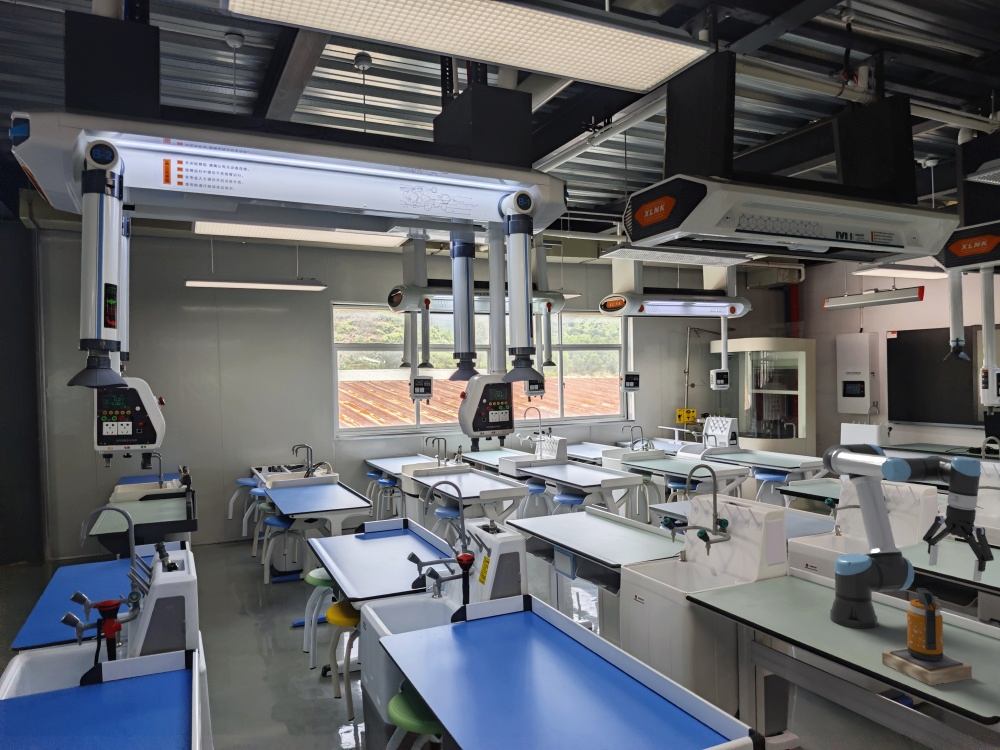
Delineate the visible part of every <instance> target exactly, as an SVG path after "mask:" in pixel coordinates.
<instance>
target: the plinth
mask: <svg viewBox="0 0 1000 750" xmlns="http://www.w3.org/2000/svg"><path fill="white" fill-rule="evenodd" d="M881 655H882V656H881V657H882V658H881V659H882V660H881V664H882V663H883V664H882V665H884V664H886V665H885V666H887V665H888V666H887V667H889V666H890V667H889V668H891V667H892V669H893V668H894V669H893V670H895V669H896V671H897V670H898V671H897V672H899V671H901V672H900V673H902V672H903V673H902V674H904V673H905V674H904V675H906V674H907V675H906V676H908V675H909V676H908V677H910V676H911V677H910V678H912V677H914V678H916V679H915V680H917V679H918V680H917V681H919V680H920V681H919V682H921V681H922V682H921V683H923V682H924V683H923V684H925V683H926V684H925V685H927V684H928V685H927V686H929V685H934V686H937V685H936V684H939V685H942V684H941V683H944V684H949V683H953V682H958V681H964V680H968V679H969V680H970V679H972V674H973V673H972V672H973V670H972V665H970V664H969V663H968V664H967V663H965V662H962V661H960V660H958V659H955V658H952V657H950V656H948V655H945V654H944V653H943V658H942V659H940V660H935V661H929V660H923V659H919V658H917V657H915V656H913V655H911V654H910V653H909V652H908V647H904V648H899V649H893V650H887V651H882V652H881ZM914 678H913V679H914Z"/></svg>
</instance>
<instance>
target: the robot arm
mask: <svg viewBox="0 0 1000 750" xmlns="http://www.w3.org/2000/svg"><path fill="white" fill-rule="evenodd" d="M822 463H823V466H824V467H825V469H826V470H827V471H828V472H830V473H831V474H834V475H838V476H848V478H849V482H850V483H852V484H854V486H855V490H856V494H857V498H858V499H857V500H858V504H859V508H860V509H859V510H860V512H861V517H862V521H863V526H864V530H865V536H866V540H867V546H868V550H867V551H866V553H865V554H864V553H845V554H841V555H839V556H837V557H836V559H835V562H834V584H835V586H834V587H835V588H834V589H835V591H834V593H835V594H834V596H835V597H834V600H833V603H832V606H831V609H830V611H829V614H830V615H829V616H830V617H829V619H830V620H831V621H833V623H836V624H838V625H841V626H843V627H844V626H845V627H848V628H849V627H850V628H853V629H873V628H877V627H878V623H879V622H878V621H879V620H878V616H877V614H876V611H875V608H874V605H873V601H872V600H873V599H872V596H873V595H872V593H876V592H899V591H905V590H907V589H909V588H910V587H911V586H912V584H913V582H914V579H915V571H914V567H913V564H912V562H910V560H909V559H908V558H907V557H904V556H903V552H902V550H900V549H899V548H897V546H896V542H895V538H894V536H893V530H892V527H891V521H890V517H889V513H888V509H887V505H886V500H885V496H884V492H883V488H882V483H881V481H882V480H883V479H886V480H887V481H888V482H892V483H893V482H894V483H903V482H937V481H938V482H942V483H945V484H948V494H947V495H948V496H947V505H946V511H945V517H946V518H945V517H944V516H943V515H939V516H938V515H936V516H935V517H934V521H933V523H932V524H931V526H930V527H929V529H928V530H927V531H926V533H925V534H924V536H923V537H922V541H924V542H926V543H927V544H928V545H927V546H928V548H927V554H928V555H929V560H928V566H937V562H938V554H939V547H940V546H939V545H938V543H939V542H941V541H942V540H943V539H944V538H946V537H947V536H948V535H950V534H951V536H957V537H958V538H963V540H965V542H966V543H968V545H969V547H970V549H971V551H972V552H973V554H974V555H975V556H976V558H977V559H975V560H974V567H973V575H972V576H973V577H972V581H973V582H981V581H982V574H983V572H985V571H986V564H987V562H992V561H994V560H995V558H994V555H993V552H992V549H991V547H990V544H989V541H988V539H987V537H986V528H985V527H982V526H981V527H978V526H975V525H974V524H975V521H976V513H977V510H976V508H977V506H978V505H977V503H978V494H979V488H980V480H981V479H980V478H981V474H982V473H981V471H982V470H981V468H982V467H981V465H982V464H981V461H980V460H979V459H977V458H973V457H969V456H959V455H956V456H953V457H952V458H951V459H948V458H945V457H942V456H938V455H931V454H928V455H925V456H923V457H907V458H906V457H895V456H887V455H886V453H885V451H884V450H883V449H882V448H881V447H879V446H878V445H876V444H868V443H859V444H857V443H853V444H852V443H851V444H835V445H832V446H830V447H828V448H827V449H826V450H825V451H824V453H823V455H822ZM943 524H945V528H944V529H942V530H941V531H940V532H938V531H939V529H940V528H941V526H942V525H943ZM937 532H938V534H936V533H937ZM973 532H974V533H973ZM974 534H975V535H974ZM975 536H976V537H975ZM976 539H977V540H976Z"/></svg>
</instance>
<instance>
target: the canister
mask: <svg viewBox="0 0 1000 750" xmlns="http://www.w3.org/2000/svg"><path fill="white" fill-rule="evenodd" d="M915 593H917V596H918V599H916V598H915V599H911V600H910V601H909V603H908V609H907V611H906V615H907V616H906V619H907V620H906V623H907V633H906V634H907V648H908V652H909V653H910V654H911V655H913V656H915V657H917V658H919V659H923V660H929V661H935V660H940V659H942V658H943V654H944V624H943V623H944V622H943V615H942V614H941V607H940V606H941V603H940V602H939V601H937V600H935V598H934V595H933V592H930V591H929V590H928V589H927V588H923V587H917V588H916V589H915Z"/></svg>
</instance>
